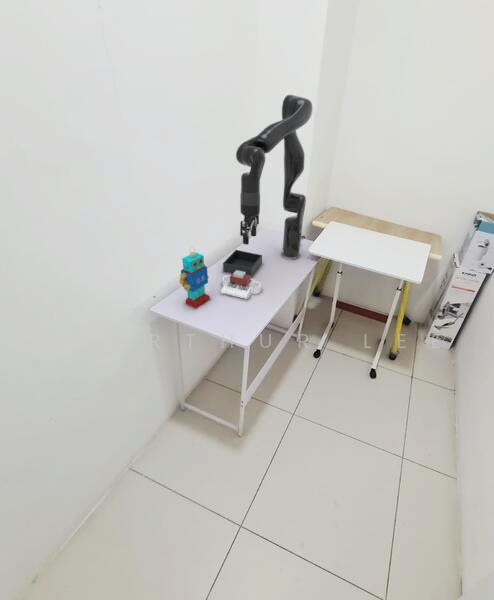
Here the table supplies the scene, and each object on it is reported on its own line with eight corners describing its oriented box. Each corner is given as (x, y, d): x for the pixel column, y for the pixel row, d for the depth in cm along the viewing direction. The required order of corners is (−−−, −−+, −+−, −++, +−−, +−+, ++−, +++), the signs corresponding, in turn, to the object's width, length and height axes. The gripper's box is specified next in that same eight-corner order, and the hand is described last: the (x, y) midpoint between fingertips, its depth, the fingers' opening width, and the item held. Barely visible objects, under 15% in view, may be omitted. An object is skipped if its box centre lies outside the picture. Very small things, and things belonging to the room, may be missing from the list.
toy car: (229, 283, 146) (229, 273, 143) (233, 278, 149) (233, 268, 146) (246, 287, 144) (247, 277, 141) (250, 282, 148) (250, 272, 145)
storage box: (235, 258, 172) (235, 249, 169) (261, 264, 169) (262, 255, 166) (223, 272, 159) (222, 263, 157) (251, 278, 157) (251, 269, 154)
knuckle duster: (214, 293, 145) (228, 277, 156) (253, 302, 141) (264, 285, 153) (214, 287, 143) (228, 271, 154) (253, 296, 140) (265, 279, 151)
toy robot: (192, 310, 134) (186, 255, 119) (181, 304, 136) (174, 250, 122) (212, 297, 142) (209, 244, 128) (202, 292, 145) (197, 239, 130)
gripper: (252, 209, 122) (252, 249, 131) (265, 197, 133) (264, 234, 143) (233, 205, 123) (234, 245, 133) (248, 194, 134) (247, 231, 144)
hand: (249, 239), depth 138 cm, fingers open, 8 cm apart
